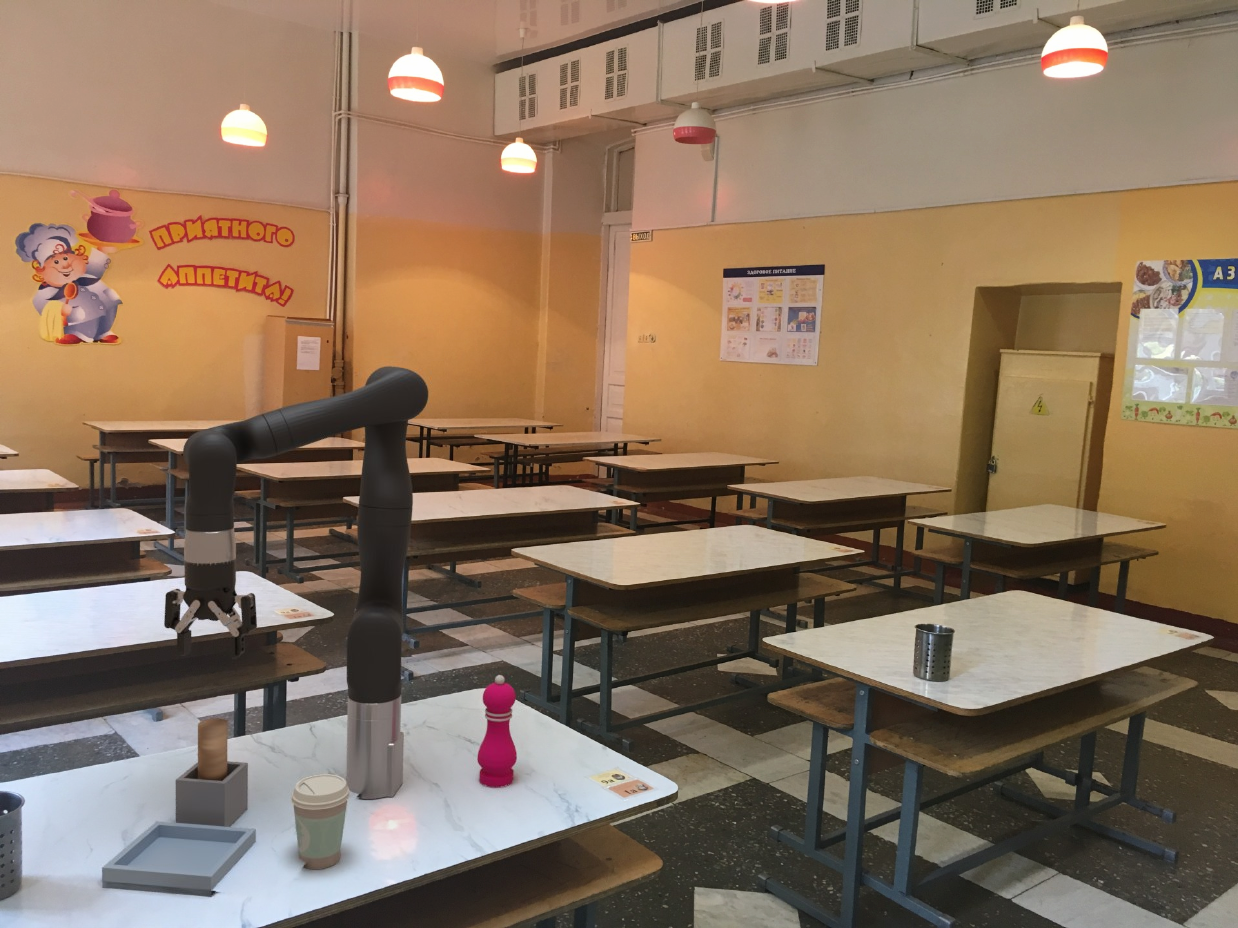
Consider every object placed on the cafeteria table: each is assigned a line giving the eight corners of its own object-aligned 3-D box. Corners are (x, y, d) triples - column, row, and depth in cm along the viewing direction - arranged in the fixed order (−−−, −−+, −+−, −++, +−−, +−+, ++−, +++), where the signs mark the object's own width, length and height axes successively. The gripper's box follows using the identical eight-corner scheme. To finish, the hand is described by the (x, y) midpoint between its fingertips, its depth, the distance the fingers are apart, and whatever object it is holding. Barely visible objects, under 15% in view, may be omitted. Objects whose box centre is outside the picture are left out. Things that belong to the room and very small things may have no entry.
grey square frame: (247, 814, 158) (247, 762, 157) (224, 837, 150) (224, 783, 149) (201, 810, 159) (201, 759, 158) (175, 834, 151) (175, 779, 150)
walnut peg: (231, 813, 156) (232, 719, 155) (219, 825, 152) (219, 729, 150) (206, 811, 157) (206, 717, 155) (192, 823, 152) (192, 727, 151)
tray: (255, 847, 148) (255, 828, 148) (211, 896, 134) (211, 876, 134) (156, 839, 149) (156, 820, 149) (102, 887, 135) (102, 867, 135)
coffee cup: (298, 845, 149) (299, 771, 148) (353, 845, 150) (354, 772, 149) (283, 874, 141) (284, 796, 139) (342, 874, 141) (343, 797, 140)
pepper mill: (469, 783, 174) (472, 677, 172) (489, 768, 180) (492, 666, 178) (504, 791, 171) (507, 684, 169) (522, 776, 178) (526, 672, 176)
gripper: (264, 554, 154) (264, 652, 155) (180, 549, 155) (181, 646, 157) (241, 563, 146) (241, 666, 148) (154, 558, 148) (155, 660, 149)
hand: (210, 655), depth 152 cm, fingers open, 8 cm apart
